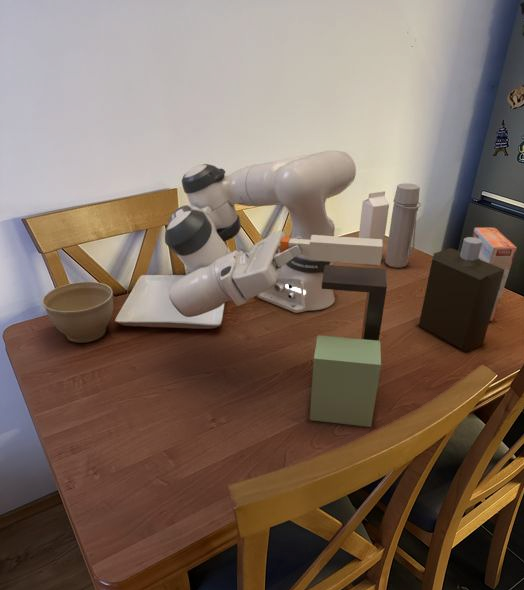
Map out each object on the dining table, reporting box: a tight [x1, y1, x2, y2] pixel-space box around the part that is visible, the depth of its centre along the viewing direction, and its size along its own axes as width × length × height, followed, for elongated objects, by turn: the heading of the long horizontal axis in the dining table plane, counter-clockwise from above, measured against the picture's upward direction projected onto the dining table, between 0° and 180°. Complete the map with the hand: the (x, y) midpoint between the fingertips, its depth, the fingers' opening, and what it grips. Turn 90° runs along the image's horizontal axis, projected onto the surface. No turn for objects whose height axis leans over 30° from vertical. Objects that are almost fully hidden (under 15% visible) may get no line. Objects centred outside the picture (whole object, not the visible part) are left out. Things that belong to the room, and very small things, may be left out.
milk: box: [358, 191, 390, 260], centre depth 156 cm, size 6×6×22 cm
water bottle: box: [384, 182, 422, 269], centre depth 151 cm, size 9×8×25 cm
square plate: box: [114, 274, 226, 330], centre depth 134 cm, size 27×27×4 cm
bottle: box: [418, 236, 504, 353], centre depth 116 cm, size 8×16×25 cm, turn 33°
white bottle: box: [280, 235, 384, 266], centre depth 91 cm, size 18×4×4 cm, turn 80°
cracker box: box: [471, 226, 517, 322], centre depth 128 cm, size 14×6×21 cm, turn 178°
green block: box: [309, 334, 382, 428], centre depth 95 cm, size 12×8×15 cm, turn 80°
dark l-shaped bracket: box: [322, 264, 388, 341], centre depth 102 cm, size 12×8×25 cm, turn 80°
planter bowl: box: [42, 281, 114, 344], centre depth 121 cm, size 16×16×11 cm
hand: (301, 244), depth 91 cm, fingers closed on white bottle, 2 cm apart
